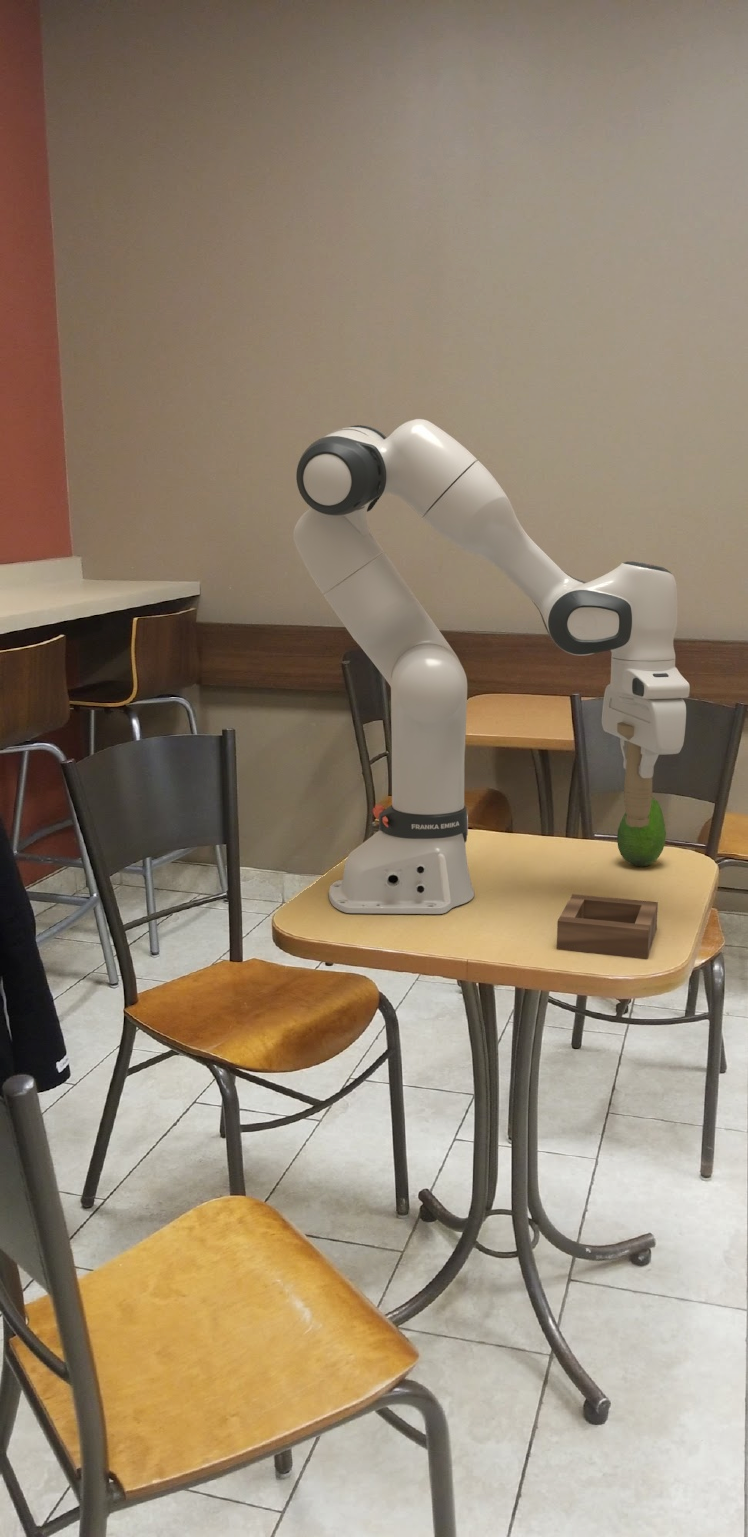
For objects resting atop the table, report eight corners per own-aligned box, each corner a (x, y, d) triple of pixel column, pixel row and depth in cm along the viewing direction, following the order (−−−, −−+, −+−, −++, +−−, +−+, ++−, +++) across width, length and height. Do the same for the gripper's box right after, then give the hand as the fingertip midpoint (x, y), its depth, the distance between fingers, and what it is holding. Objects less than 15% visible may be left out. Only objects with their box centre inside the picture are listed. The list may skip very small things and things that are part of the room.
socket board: (647, 958, 152) (648, 930, 151) (556, 948, 156) (557, 920, 155) (656, 929, 163) (657, 902, 162) (571, 920, 167) (572, 894, 166)
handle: (664, 828, 166) (668, 725, 163) (621, 830, 165) (624, 727, 162) (652, 820, 171) (655, 720, 167) (610, 822, 170) (612, 721, 167)
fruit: (611, 858, 197) (613, 790, 195) (657, 857, 198) (659, 789, 195) (622, 872, 190) (624, 801, 187) (669, 871, 190) (673, 800, 187)
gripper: (593, 670, 173) (589, 760, 175) (652, 688, 153) (647, 790, 156) (632, 668, 174) (628, 758, 177) (696, 687, 154) (690, 787, 157)
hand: (637, 773), depth 166 cm, fingers closed on handle, 3 cm apart
